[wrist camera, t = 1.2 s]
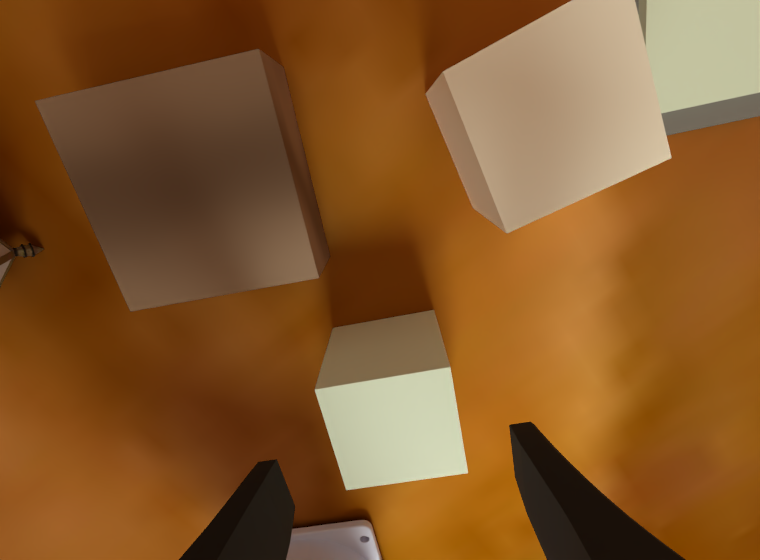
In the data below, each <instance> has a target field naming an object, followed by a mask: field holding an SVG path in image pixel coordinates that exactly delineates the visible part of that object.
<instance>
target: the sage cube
mask: <svg viewBox="0 0 760 560" xmlns="http://www.w3.org/2000/svg"><path fill="white" fill-rule="evenodd" d="M315 393H316V396H317V399H318V402H319V405H320V408H321V412H322V415H323V418H324V421H325V424H326V427H327V431H328V434H329V437H330V440H331V443H332V446H333V450H334V453H335V456H336V459H337V462H338V465H339V469H340V472H341V475H342V478H343V481H344V485H345V488H346V490H352V489H359V488H366V487H373V486H380V485H387V484H394V483H401V482H408V481H415V480H422V479H429V478H436V477H444V476H451V475H458V474H465V473H468V470H467V464H466V458H465V452H464V446H463V440H462V434H461V428H460V422H459V416H458V410H457V404H456V398H455V392H454V386H453V380H452V374H451V368H450V364H449V361H448V357H447V354H446V350H445V347H444V343H443V339H442V336H441V332H440V329H439V325H438V322H437V318H436V315H435V311H434V310H430V311H424V312H419V313H413V314H407V315H402V316H396V317H391V318H385V319H380V320H374V321H369V322H363V323H357V324H352V325H346V326H341V327H335V328H333V329H332V332H331V336H330V339H329V342H328V346H327V349H326V353H325V356H324V359H323V363H322V366H321V369H320V373H319V376H318V380H317V383H316V386H315Z"/></svg>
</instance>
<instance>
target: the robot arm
mask: <svg viewBox="0 0 760 560" xmlns="http://www.w3.org/2000/svg"><path fill="white" fill-rule="evenodd" d="M509 427H510V436H511V444H512V453H513V462H514V471H515V478H516V481H517V484H518V487H519V490H520V494H521V497H522V500H523V503H524V506H525V509H526V512H527V514H528V517H529V519H530V521H531V524H532V526H533V528H534V531H535V533H536V535H537V538H538V540H539V542H540V545H541V547H542V549H543V551H544V554H545V556H546V558H547V560H685V559H684V558H683V557H681V556H680V555H679V554H677V553H676V552H675V551H673V550H672V549H670V548H669V547H668V546H666V545H665V544H664V543H662V542H661V541H660V540H658V539H657V538H656V537H655V536H653V535H652V534H651V533H649V532H648V531H647V530H645V529H644V528H643V527H642V526H640V525H639V524H638V523H637V522H635V521H634V520H633V519H632V518H631V517H629V516H628V515H627V514H626V513H625V512H623V511H622V510H621V509H620V508H619V507H617V506H616V505H615V504H614V503H613V502H612V501H611V500H609V499H608V498H607V497H606V496H605V495H604V494H603V493H601V492H600V491H599V490H598V489H597V488H596V487H595V486H594V485H593V484H592V483H590V482H589V481H588V480H587V479H586V478H585V477H584V476H583V475H582V474H581V473H580V472H579V471H578V470H577V469H576V468H575V467H574V466H573V465H572V464H571V463H570V462H569V461H568V460H567V459H566V458H565V457H564V456H563V455H562V454H561V453H560V452H559V451H558V450H557V449H556V448H555V447H554V446H553V445H552V444H551V443H550V442H549V441H548V439H547V438H546V437H545V436H544V435H543V434H542V433H541V432H540V431H539V429H538V428H537V427H536V426H535V425H534V424H533V423H531V422H525V423H519V424H512V425H509ZM294 511H295V505H294V503H293V500H292V497H291V495H290V492H289V490H288V487H287V484H286V482H285V479H284V477H283V474H282V472H281V469H280V466H279V464H278V461H277V459H276V460H269V461H262V462H258V463H257V464H256V466H255V467H254V468H253V469H252V471H251V472H250V473H249V474H248V476H247V477H246V478H245V479H244V481H243V482H242V483H241V485H240V486H239V487H238V489H237V490H236V491H235V492H234V494H233V495H232V496H231V498H230V499H229V500H228V501H227V503H226V504H225V505H224V506H223V508H222V509H221V510H220V511H219V513H218V514H217V515H216V516H215V518H214V519H213V520H212V521H211V523H210V524H209V525H208V526H207V528H206V529H205V530H204V531H203V532H202V533H201V535H200V536H199V537H198V538H197V539H196V540H195V542H194V543H193V544H192V545H191V546H190V547H189V549H188V550H187V551H186V552H185V553H184V554H183V556H182V557H181V558H180V559H179V560H382V558H381V554H380V551H379V547H378V544H377V541H376V537H375V534H374V531H373V527H372V525H371V523H370V522H368V521H367V520H356V521H348V522H341V523H333V524H326V525H318V526H311V527H303V528H296V529H292V527H293V519H294Z"/></svg>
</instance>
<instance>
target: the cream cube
mask: <svg viewBox="0 0 760 560" xmlns="http://www.w3.org/2000/svg"><path fill="white" fill-rule="evenodd" d="M426 97H427V99H428V102H429V104H430V106H431V109H432V111H433V114H434V116H435V118H436V121H437V123H438V126H439V128H440V130H441V133H442V135H443V138H444V140H445V142H446V145H447V147H448V149H449V152H450V154H451V157H452V159H453V161H454V164H455V166H456V169H457V171H458V173H459V176H460V178H461V181H462V183H463V185H464V188H465V190H466V193H467V195H468V197H469V200H470V202H471V205H472V207H473V209H475V210H476V211H477V212H479V213H480V214H481V215H483V216H484V217H485V218H487V219H488V220H489V221H491V222H492V223H493V224H495V225H496V226H497V227H499V228H500V229H501V230H503V231H504V232H505V233H509V232H512V231H514V230H516V229H518V228H520V227H522V226H525V225H527V224H529V223H531V222H533V221H535V220H538V219H540V218H542V217H544V216H546V215H548V214H551V213H553V212H555V211H557V210H559V209H562V208H564V207H566V206H568V205H570V204H572V203H575V202H577V201H579V200H581V199H583V198H585V197H588V196H590V195H592V194H594V193H596V192H599V191H601V190H603V189H605V188H607V187H609V186H612V185H614V184H616V183H618V182H620V181H622V180H625V179H627V178H629V177H631V176H633V175H635V174H638V173H640V172H642V171H644V170H646V169H649V168H651V167H653V166H655V165H657V164H659V163H662V162H664V161H666V160H668V159H670V158H671V154H670V149H669V145H668V141H667V136H666V132H665V128H664V123H663V119H662V115H661V110H660V106H659V102H658V97H657V93H656V89H655V85H654V80H653V76H652V72H651V67H650V63H649V59H648V54H647V50H646V46H645V41H644V37H643V33H642V28H641V24H640V20H639V15H638V11H637V7H636V2H635V0H571V1H570V2H568V3H566V4H564V5H562V6H561V7H559V8H557V9H555V10H553V11H551V12H550V13H548V14H546V15H544V16H542V17H541V18H539V19H537V20H535V21H533V22H532V23H530V24H528V25H526V26H524V27H523V28H521V29H519V30H517V31H515V32H513V33H512V34H510V35H508V36H506V37H504V38H503V39H501V40H499V41H497V42H495V43H494V44H492V45H490V46H488V47H486V48H484V49H483V50H481V51H479V52H477V53H475V54H474V55H472V56H470V57H468V58H466V59H465V60H463V61H461V62H459V63H457V64H455V65H454V66H452V67H450V68H448V69H446V70H445V71H443V72H442V73H441V74H440V76H439V77H438V78H437V80H436V81H435V82H434V83H433V85H432V86H431V87H430V89H429V90H428V91H427V92H426Z"/></svg>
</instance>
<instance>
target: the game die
mask: <svg viewBox="0 0 760 560" xmlns="http://www.w3.org/2000/svg"><path fill="white" fill-rule="evenodd" d="M42 250H44V249H43V248H40V247H37V246H34V245H31V243H29V245H23V244H21V246H19V247H17V248H12V247H11V246H9V245H8V244H7V243H6V242H4V241H3V240H2V239H0V287H1V285H2V283H3V281H4V279H5V277H6V275H7V273H8V271H9V269H10V267H11V265H12V263H13V261H14V259H15V257H16V256H24V257H27V256H32V257H34V256H35V255H36V254H37V253H39V252H41V251H42Z"/></svg>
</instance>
